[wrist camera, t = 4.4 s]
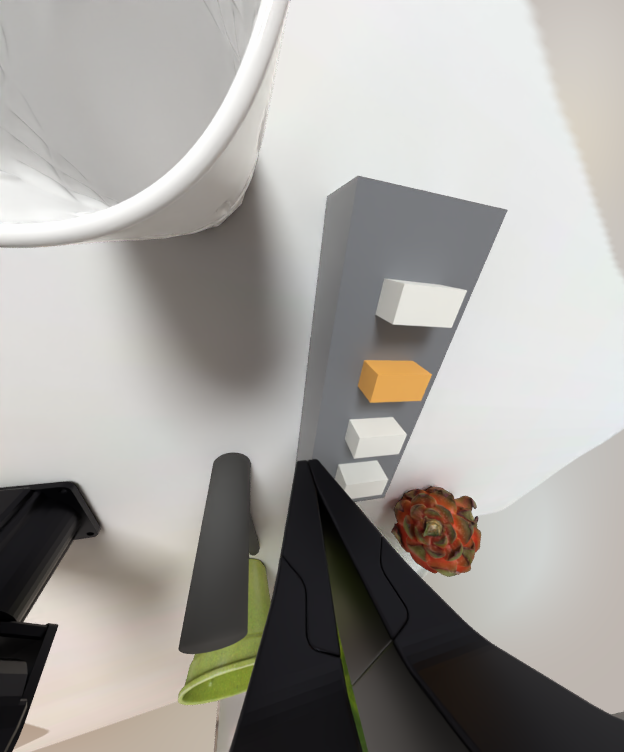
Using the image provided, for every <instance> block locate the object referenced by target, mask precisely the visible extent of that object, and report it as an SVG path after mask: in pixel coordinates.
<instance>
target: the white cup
mask: <svg viewBox="0 0 624 752" xmlns="http://www.w3.org/2000/svg"><path fill="white" fill-rule="evenodd" d="M289 4H290V0H0V247H1V248H35V247H50V246H62V245H75V244H88V243H101V242H116V241H134V240H149V239H163V238H170V237H175V236H181V235H187V234H193V233H197V232H200V231H203V230H205V229H207V228H212V227H217V226H219V225H220V224H221V223H222V222H223V221H224V220H225V219H227V218H228V217H229V216H230V215H231V214H232V213H233V212H234V211H235V210H236V209H237V208H238V207H239V206H240V205H241V204H242V202H243V199H244V195H245V192H246V190H247V188H248V186H249V184H250V181H251V179H252V176H253V173H254V170H255V166H256V162H257V158H258V154H259V151H260V148H261V144H262V140H263V136H264V132H265V127H266V122H267V116H268V111H269V106H270V101H271V96H272V90H273V85H274V80H275V75H276V70H277V64H278V59H279V54H280V49H281V44H282V39H283V34H284V29H285V24H286V19H287V14H288V9H289Z"/></svg>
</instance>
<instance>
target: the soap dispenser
mask: <svg viewBox="0 0 624 752" xmlns="http://www.w3.org/2000/svg"><path fill="white" fill-rule="evenodd" d="M245 695H246V692H244V693H241V694H238V695H234V696H232V697H228V698H225V699H221V700H218V705H217V717H216V731H215V744H214V752H229V749H230V746H231V742H232V739H233V736H234V733H235V729H236V726H237V722H238V719H239V716H240V712H241V709H242V705H243V702H244V698H245Z"/></svg>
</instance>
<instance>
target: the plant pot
mask: <svg viewBox="0 0 624 752" xmlns="http://www.w3.org/2000/svg"><path fill="white" fill-rule="evenodd" d="M270 604H271V601H270V595H269V589H268V582H267V575H266V569H265V566H264V565H263V564H262V563H261V561H259V560H256V559H249V584H248V633H247V635H246V636H245V637H244V638H243V639H241V640H240V641H238V642H237V643H235V644H232V645H230V646H228V647H225V648H222V649H219V650H215V651H211V652H206V653H200V654H195V656H194V659H193V661H192V663H191V665H190V667H189V671H188V675H187V679H186V683H185V686H184V687H183V688H182V689H181V691H180V693H179V696H178V702H179V703H180V704H184V705H196V704H203V703H209V702H213V701H218V700H221V699H225V698H228V697H232V696H234V695H238V694H241V693H244V692H246V691H247V688H248V684H249V681H250V677H251V673H252V670H253V666H254V663H255V659H256V656H257V652H258V648H259V645H260V641H261V638H262V634H263V630H264V627H265V623H266V620H267V616H268V612H269V608H270Z"/></svg>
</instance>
